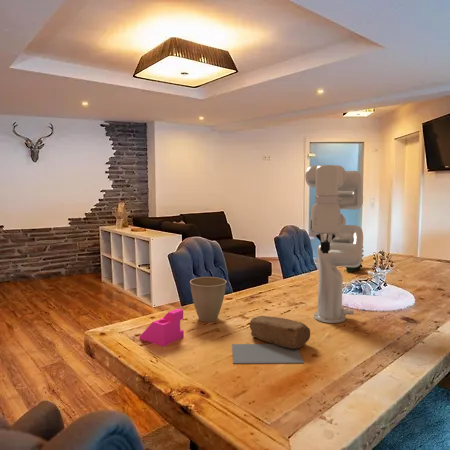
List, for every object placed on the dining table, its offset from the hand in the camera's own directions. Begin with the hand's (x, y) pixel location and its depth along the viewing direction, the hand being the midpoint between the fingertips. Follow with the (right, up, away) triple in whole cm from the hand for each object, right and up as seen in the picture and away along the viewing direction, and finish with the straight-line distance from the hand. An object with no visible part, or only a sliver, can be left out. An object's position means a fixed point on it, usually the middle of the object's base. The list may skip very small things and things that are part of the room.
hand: (324, 252), depth 137 cm
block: (-9, -28, -7) cm, 30 cm away
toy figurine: (+46, -20, +110) cm, 121 cm away
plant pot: (-42, -29, +23) cm, 56 cm away
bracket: (-58, -31, +4) cm, 66 cm away
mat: (-22, -32, -10) cm, 40 cm away
